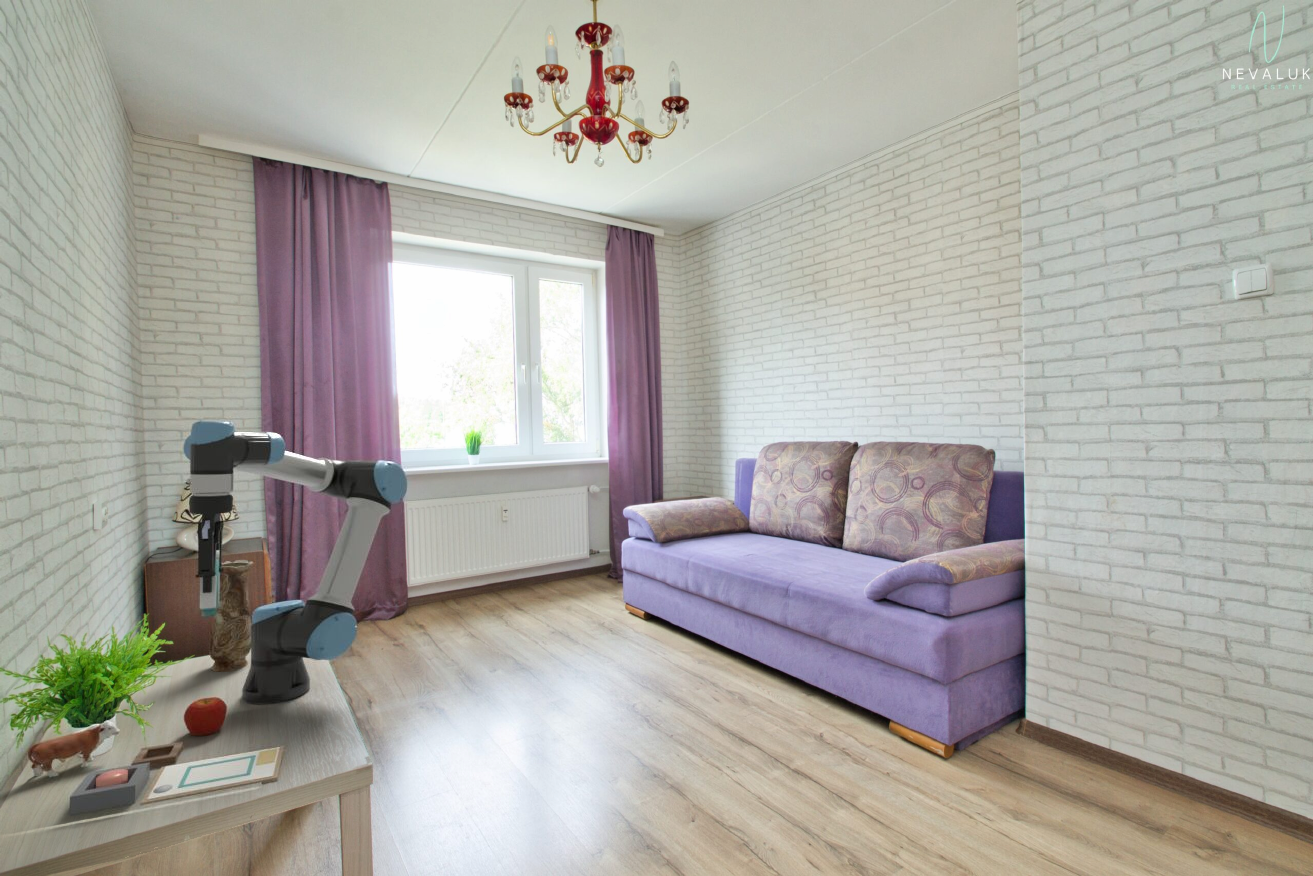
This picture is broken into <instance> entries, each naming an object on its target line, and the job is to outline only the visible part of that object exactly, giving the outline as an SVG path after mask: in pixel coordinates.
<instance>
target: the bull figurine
mask: <svg viewBox="0 0 1313 876" xmlns="http://www.w3.org/2000/svg"><path fill="white" fill-rule="evenodd" d="M120 731H121V729H119V728H118V727H117V725H116V724H115V723H114V722H111V721H110V720H109V719H108V720H105V721H104V722H103V723H93V724H91V725H89V726H88V727H86V728H83V729H80V730H78V731H76V732H72V733H70V734H66V735H63V736H59V737H56V738H50V739H47V740H43V741H39V742H36V743H34V744H33V745H32V746H30V747H29V749H28V751H27V757H28V760H29V761H30V762H31V763H32V765H31V769H32V771H33V777H40V776H42V775H43V774H44V772H46V773H47V775H48V777H49V778H52V777H57V776H59V774H60V773H58V772H56V771H54V769H53V766H52V765H53V761H54V760H58V761H60V762H61V763H65V762H66V760H67V759H70V758H72V757H74V756H77V755H82V762H81V765H80V768H87V767H88V766H89V764H88V762H92V761H93V760H94V758H93V756H92V753H93V752H94V751H96V750H97V749H98V748H99V747H100V746H101V745H102V744H103V743H104V741H105V740H107V739H109V738H110V737H111V736H117V735H118V734H120Z"/></svg>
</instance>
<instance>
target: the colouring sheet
mask: <svg viewBox="0 0 1313 876" xmlns="http://www.w3.org/2000/svg"><path fill="white" fill-rule="evenodd" d="M284 752H285V745H282V746H276V747H269V748H265V749H259V750H254V751H253V750H252V751H247V752H246V751H245V752H240V753H236V754H235V753H234V754H229V755H223V756H218V757H212V758H205V759H199V760H194V761H188V762H182V763H175V764H170V765H165V766H160V769H158V772H157V774H156V776H155V778H154V779H153V781H152V783H151V784H150V787H149V788H148V790H147V792H146V793H145V795H144V796H143V798H142V800H141V802H140V805H145V804H150V803H156V802H161V801H166V800H171V799H177V798H182V797H186V796H192V795H197V794H203V793H204V794H205V793H208V792H215V791H219V790H220V791H221V790H224V789H230V788H235V787H240V786H247V785H251V784H257V783H261V784H266V783H270V782H271V783H272V782H276V781H278V779H279V775H280V769H281V765H282V760H283V755H284Z"/></svg>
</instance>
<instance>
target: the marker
mask: <svg viewBox="0 0 1313 876" xmlns="http://www.w3.org/2000/svg"><path fill="white" fill-rule="evenodd" d="M215 572H216V575H215V576H217V579H216V607H215V608H204V609H200V610H201V611H202V612H201V616H202V617H203V618H207V617H209V618H210V617H214V616H215V615H216V608H218V583H219V550H216V565H215Z"/></svg>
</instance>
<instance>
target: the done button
mask: <svg viewBox="0 0 1313 876" xmlns="http://www.w3.org/2000/svg"><path fill="white" fill-rule="evenodd" d="M125 783H128V770H126V769H116V770H112V771H108V772H105V773H103V774H101V775H99V776H98V777H97V778H96V788H102V787H108V786H113V785H119V784H125Z"/></svg>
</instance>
